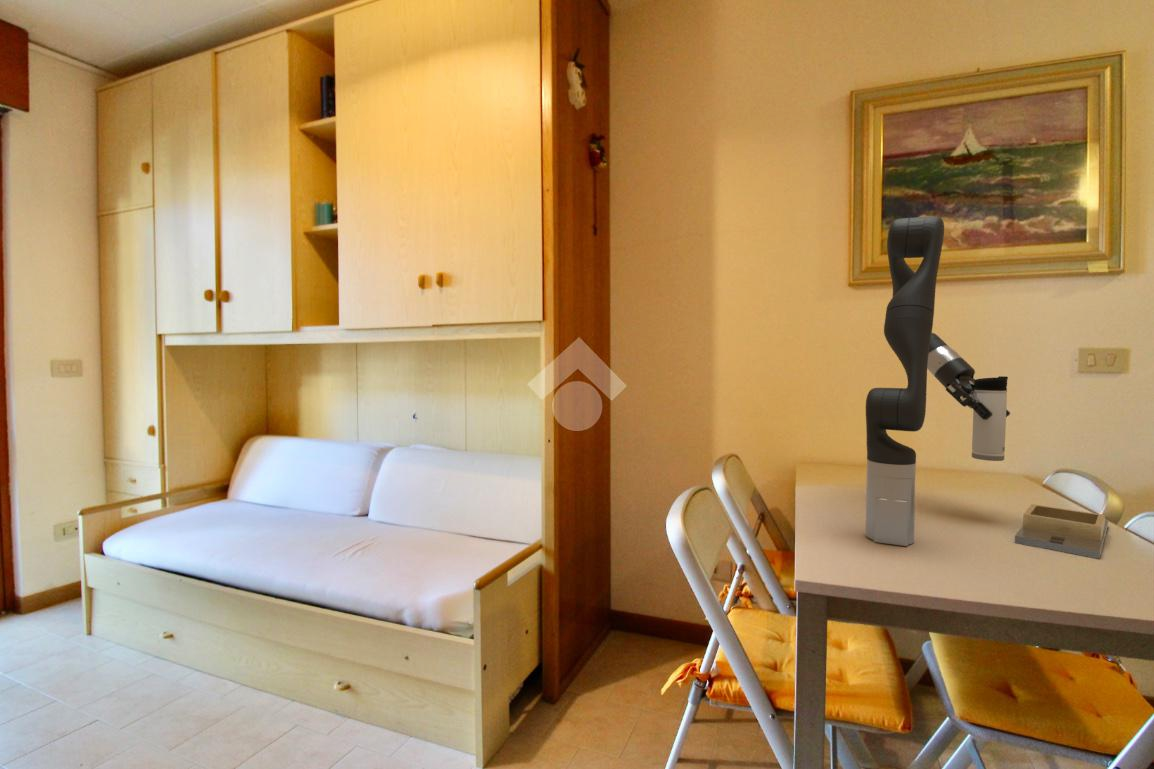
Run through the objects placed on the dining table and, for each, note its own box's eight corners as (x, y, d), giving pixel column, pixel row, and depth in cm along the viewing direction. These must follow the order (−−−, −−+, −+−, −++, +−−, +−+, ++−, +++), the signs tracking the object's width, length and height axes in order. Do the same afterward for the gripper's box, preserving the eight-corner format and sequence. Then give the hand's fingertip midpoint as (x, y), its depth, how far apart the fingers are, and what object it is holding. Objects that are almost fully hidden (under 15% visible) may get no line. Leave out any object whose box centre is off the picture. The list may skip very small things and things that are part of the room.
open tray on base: (1099, 559, 104) (1100, 536, 103) (1014, 542, 113) (1015, 522, 113) (1107, 526, 124) (1108, 507, 124) (1035, 515, 134) (1035, 497, 133)
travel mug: (1012, 461, 125) (1016, 376, 124) (984, 461, 125) (987, 376, 124) (992, 456, 131) (995, 376, 130) (965, 456, 131) (968, 375, 130)
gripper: (940, 356, 131) (991, 407, 120) (977, 356, 136) (1029, 406, 126) (918, 377, 136) (966, 428, 125) (954, 376, 141) (1003, 425, 131)
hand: (997, 416), depth 126 cm, fingers closed on travel mug, 6 cm apart
